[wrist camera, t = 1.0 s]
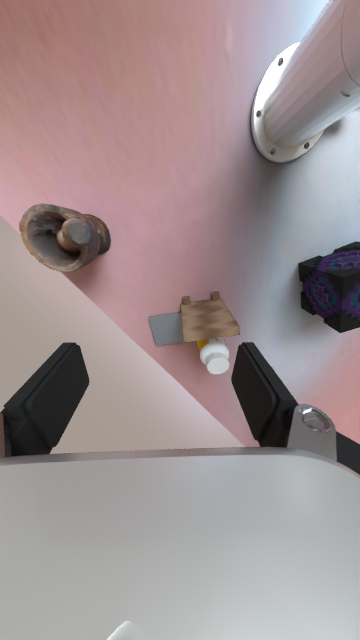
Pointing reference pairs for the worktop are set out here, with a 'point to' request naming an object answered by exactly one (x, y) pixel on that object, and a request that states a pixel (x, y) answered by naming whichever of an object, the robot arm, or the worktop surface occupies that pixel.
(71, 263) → the mortar and pestle
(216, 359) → the supplement bottle
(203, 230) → the worktop surface
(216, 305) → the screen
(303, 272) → the energy cube
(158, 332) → the coaster
